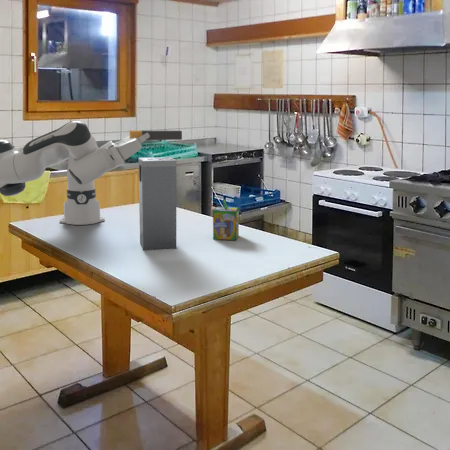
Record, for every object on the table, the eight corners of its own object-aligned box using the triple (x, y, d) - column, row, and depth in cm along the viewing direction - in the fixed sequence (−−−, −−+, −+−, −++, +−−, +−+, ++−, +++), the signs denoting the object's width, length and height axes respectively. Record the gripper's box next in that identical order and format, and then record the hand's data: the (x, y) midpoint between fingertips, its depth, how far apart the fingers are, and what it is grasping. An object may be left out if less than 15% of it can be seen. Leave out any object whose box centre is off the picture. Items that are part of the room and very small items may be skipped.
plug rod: (129, 139, 204) (129, 130, 203) (180, 138, 208) (180, 130, 208) (130, 139, 201) (130, 131, 200) (181, 139, 205) (181, 131, 205)
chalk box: (235, 241, 223) (236, 203, 220) (212, 239, 224) (212, 201, 221) (239, 235, 232) (240, 198, 228) (216, 234, 233) (217, 197, 230)
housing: (140, 243, 217) (138, 157, 210) (171, 241, 220) (171, 157, 213) (143, 250, 207) (141, 161, 200) (176, 248, 210) (176, 160, 203)
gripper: (116, 158, 213) (148, 139, 214) (121, 165, 194) (156, 144, 195) (107, 143, 211) (139, 124, 212) (110, 149, 192) (147, 127, 193)
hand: (148, 133), depth 203 cm, fingers closed on plug rod, 3 cm apart
